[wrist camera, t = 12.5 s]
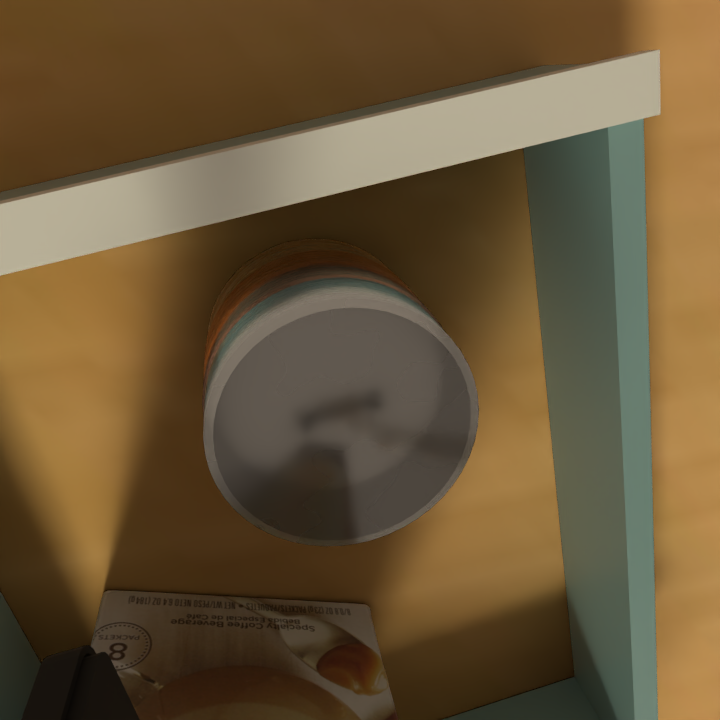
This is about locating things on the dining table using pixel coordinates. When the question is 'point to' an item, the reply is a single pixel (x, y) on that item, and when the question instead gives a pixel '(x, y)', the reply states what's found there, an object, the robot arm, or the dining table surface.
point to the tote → (555, 298)
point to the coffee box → (243, 657)
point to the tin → (332, 396)
